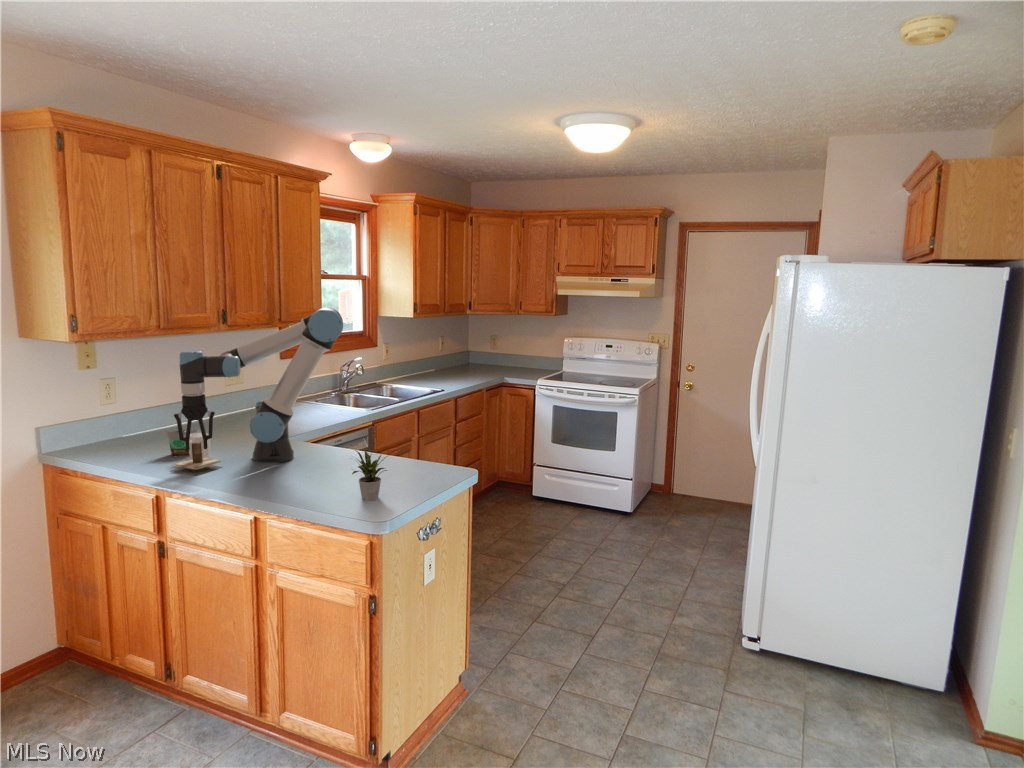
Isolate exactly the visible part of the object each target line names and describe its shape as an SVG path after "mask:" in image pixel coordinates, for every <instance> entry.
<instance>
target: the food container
mask: <svg viewBox="0 0 1024 768" xmlns="http://www.w3.org/2000/svg"><path fill="white" fill-rule="evenodd" d="M186 431H187V429H186V430H183V435H184V437H186ZM193 433H201V429H200V428H197V429H194V430H191V432H190V434H193ZM166 437H167V438H168V442H169V449H170V455H171V454H172V455H173V456H172V455H171V456H172V457H174V456H177V457H180V456H182V457H183V456H190V454H189V450H188V451H187V450H186V442H185V441H181V440H180V438H179V432H178V430H177V431H170V430H166Z"/></svg>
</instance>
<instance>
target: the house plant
mask: <svg viewBox="0 0 1024 768" xmlns="http://www.w3.org/2000/svg"><path fill="white" fill-rule="evenodd" d="M354 451H355V452H356V453H357V454H358V455H359V458H360V459H358V458H357V457H355V459H354V456H352V455H351V457H352V458H350V459H353V460H354V461H357V463H358V465H359V466H357V468H359V470H355V469H353V468H352V470H353V472H352V473H351V475H353V474H354V475H355V474H356V473H359V472H360V473H362V474H363V475H364V476H361V477H359V478H358V483H359V491H360V495H361V499H362V500H363V499H364V501H374V500H373V499H375V500H377V499H379V493H380V488H381V481H382V478H381V477H379V475H380V474H382V473H384V472H388V471H389V470H387V468H385V467H379V465H381V463H382V462H383V461H384V460H385V459H386V458H387V457H389V456H391V454H388V455H387V456H385V457H383V458H382V459H381V457H382V454H383V453H380V455H379V456H378V458H377V459H374V461H372V457H371V456H372V455H373V452H371V453H370V454H369V453H368V452H367V451H366V450H364V457H363V455H362V454H361V453H360V452H359V451H358V450H356V449H354ZM372 451H374V449H373V450H372ZM364 459H365V461H364ZM380 459H381V461H379V460H380ZM378 462H379V463H378ZM360 464H361V465H360ZM378 467H379V468H378ZM384 469H386V470H384ZM381 470H382V471H381ZM380 471H381V472H380ZM378 473H380V474H378ZM377 474H378V475H377ZM376 498H377V499H376Z"/></svg>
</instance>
